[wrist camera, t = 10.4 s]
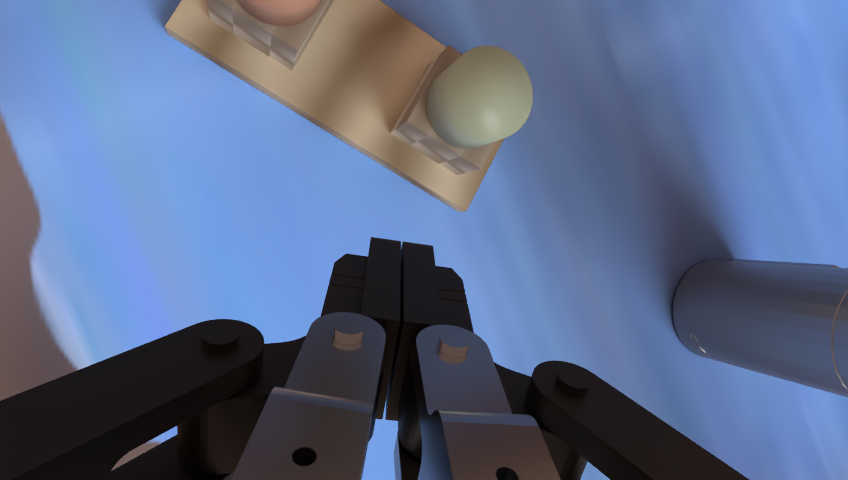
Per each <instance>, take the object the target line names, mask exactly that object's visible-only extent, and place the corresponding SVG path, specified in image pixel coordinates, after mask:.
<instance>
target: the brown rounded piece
mask: <svg viewBox="0 0 848 480" xmlns="http://www.w3.org/2000/svg"><path fill="white" fill-rule="evenodd" d="M321 1H322V0H237V2H238V3H239V4H240V5H241V7H242V8H243V9H244V10H245V11H246V12H247V13H249V14H250V15H251V16H253V17H254V18H256V19H258V20H259V21H262V22H264V23H267V24H270V25H275V26H291V25H296V24H299V23H301V22H303V21H305V20H307V19H308V18H309V17H311V16H312V15H313V14H314V13H315V12H316V10H317V9H318V7H319V5H320V3H321Z"/></svg>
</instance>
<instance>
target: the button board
mask: <svg viewBox="0 0 848 480" xmlns="http://www.w3.org/2000/svg"><path fill="white" fill-rule="evenodd" d="M165 28H166V30H167V33H168V35H170V36H171V37H173V38H175V39H176V40H178V41H180V42H181V43H183V44H185V45H186V46H188V47H189V48H191V49H193V50H194V51H196V52H198V53H199V54H201V55H203V56H204V57H206V58H207V59H209V60H211V61H212V62H214V63H216V64H217V65H219V66H221V67H222V68H224V69H225V70H227V71H229V72H230V73H232V74H234V75H235V76H237V77H239V78H240V79H242V80H244V81H245V82H247V83H248V84H250V85H252V86H253V87H255V88H257V89H258V90H260V91H262V92H263V93H265V94H266V95H268V96H270V97H271V98H273V99H275V100H276V101H278V102H280V103H281V104H283V105H285V106H286V107H288V108H289V109H291V110H293V111H294V112H296V113H298V114H299V115H301V116H303V117H304V118H306V119H307V120H309V121H311V122H312V123H314V124H316V125H317V126H319V127H321V128H322V129H324V130H325V131H327V132H329V133H330V134H332V135H334V136H335V137H337V138H339V139H340V140H342V141H344V142H345V143H347V144H348V145H350V146H352V147H353V148H355V149H357V150H358V151H360V152H362V153H363V154H365V155H366V156H368V157H370V158H371V159H373V160H375V161H376V162H378V163H380V164H381V165H383V166H385V167H386V168H388V169H389V170H391V171H393V172H394V173H396V174H398V175H399V176H401V177H403V178H404V179H406V180H407V181H409V182H411V183H412V184H414V185H416V186H417V187H419V188H421V189H422V190H424V191H425V192H427V193H429V194H430V195H432V196H434V197H435V198H437V199H439V200H440V201H442V202H444V203H445V204H447V205H448V206H450V207H452V208H453V209H455V210H457V211H458V212H464V211H467V209H468V207H469V205H470V203H471V201H472V199H473V197H474V195H475V193H476V192H477V190H478V188H479V186H480V184H481V182H482V180H483V178H484V176H485V174H486V172H487V170H488V168H489V167H490V165H491V163H492V161H493V159H494V157H495V155H496V153H497V151H498V149H499V147H500V145H501V143H502V142H503V140H504V138H503V139H500V140H498V141H495V142H492V143H489V144H487V145H484V146H481V147H478V148H474V149H461V148H457V147H454V146H452V145H450V144H448V143H447V142H445V141H444V140H443V139H442V138H441V137H439V136H438V134H437V133H436V132H435V130H434V129H433V127H432V125H431V123H430V121H429V118H428V113H427V95H428V92H429V89H430V86H431V84H432V83H433V81H434V80H435V78H436V77H437V76H438V75H439V74H440V73H441V72H443V71H444V70H445V69H446V68H447V67H449V66H450V65H451V64H452V63H453V62H455V61H456V60H457V59H458V58H459V57H461V56H462V54H461V53H459V52H458V51H456V50H455V49H454V48H452V47H451V46H448V47H447V48H446V47H445V46H444V45H442V44H441V43H439V42H438V41H437V40H435V39H434V38H432V37H431V36H430V35H428V34H427V33H425V32H424V31H423V30H421V29H420V28H418V27H417V26H415V25H414V24H413V23H411V22H410V21H408V20H407V19H406V18H404V17H403V16H401V15H400V14H399V13H397V12H396V11H394V10H393V9H391V8H390V7H389V6H387V5H386V4H384V3H383V2H382V1H380V0H322V1H321V3H320V5H319V7H318V9H317V10H316V12H315V13H314V14H313V15H312V16H311V17H309V18H308V19H307V20H305V21H303V22H301V23H299V24H296V25H291V26H275V25H270V24H267V23H264V22H262V21H259V20H258V19H256V18H254V17H253V16H251V15H250V14H249V13H247V12H246V11H245V10H244V9H243V8H242V7H241V5H240V4H239V3H238V2H237V0H181V2H180V4H179V5H178V7H177V8H176V10H175V11H174V13H173V14H172V16H171V18H170V19H169V21H168V22H167V24H166V25H165Z"/></svg>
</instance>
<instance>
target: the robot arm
mask: <svg viewBox="0 0 848 480" xmlns="http://www.w3.org/2000/svg"><path fill="white" fill-rule="evenodd" d="M673 321H674V325H675V329H676V332H677V334H678V336H679V338H680V340H681V341H682V343H683V344H684V345H685V347H686V348H688V349H689V350H690V351H691V352H693V353H695V354H697V355H699V356H702V357H706V358H709V359H713V360H716V361H720V362H724V363H727V364H731V365H734V366H737V367H741V368H744V369H748V370H752V371H755V372H759V373H762V374H766V375H770V376H773V377H777V378H780V379H784V380H788V381H791V382H795V383H798V384H802V385H806V386H809V387H813V388H816V389H820V390H823V391H827V392H831V393H834V394H838V395H841V396H845V397H848V268H839V267H837V266H835V265H826V264H809V263H792V262H775V261H758V260H741V259H735V260H733V261H726V260H707V261H704V262H701V263H699V264H697V265H695V266H693V267H692V268H691V269H690V270H689V271H688V272H687V273H686V274H685V276H684V277H683V278H682V280H681V281H680V284H679V286H678V288H677V290H676V294H675V297H674V302H673ZM386 396H387V397H386ZM385 401H386V420H394V421H398V433H397V438H396V443H395V448H394V465H395V478H396V480H580V479H581V476H582V474H583V471H584V469H585V466H586V464H587V461H588V462H590V463H591V464H592V465H593V466H594V467H596V468H597V469H598V470H599V471H601V472H602V473H603V474H604V475H606V476H607V477H608V478H609V479H610V480H749V479H748V478H746V477H745V476H743V475H742V474H740V473H739V472H737V471H736V470H734V469H733V468H731V467H730V466H728V465H727V464H725V463H724V462H723V461H721V460H720V459H718V458H717V457H715V456H714V455H712V454H711V453H709V452H708V451H706V450H705V449H703V448H702V447H701V446H699V445H698V444H696V443H695V442H693V441H692V440H690V439H689V438H687V437H686V436H684V435H683V434H681V433H680V432H678V431H677V430H676V429H674V428H673V427H671V426H670V425H668V424H667V423H665V422H664V421H662V420H661V419H659V418H658V417H656V416H655V415H653V414H652V413H651V412H649V411H648V410H646V409H645V408H643V407H642V406H640V405H639V404H637V403H636V402H634V401H633V400H631V399H630V398H628V397H627V396H626V395H624V394H623V393H621V392H620V391H618V390H617V389H615V388H614V387H612V386H611V385H609V384H608V383H606V382H605V381H603V380H602V379H601V378H599V377H598V376H596V375H595V374H593V373H592V372H590V371H588V370H587V369H584V368H582V367H580V366H578V365H575V364H572V363H568V362H563V361H547V362H543V363H541V364H539V365H537V366H536V367H535V369H534V371H533V374H532V377H530V376H527V375H524V374H521V373H518V372H515V371H512V370H509V369H507V368H504V367H502V366H500V365H498V364H496V363H495V362H494V361H493V359H492V356H491V353H490V350H489V348H488V346H487V344H486V343H485V342H484V341H483V340H482V339H481V338H480V337H479V336H477V335H476V334H474V332H473V327H472V323H471V318H470V313H469V309H468V304H467V299H466V295H465V290H464V285H463V281H462V279H461V278H460V277H459V276H458V275H457V273H456V272H455V271H454V270H453V269H452V268H446V267H439V266H435V259H434V251H433V246H430V245H423V244H416V243H409V242H403V243H402V247H401V241H395V240H388V239H381V238H374V237H371V241H370V247H369V254H368V257H366V256H359V255H352V254H345V255H344V256H342V257H341V258H340V259H339V260H337V261H336V262H335V263H334V267H333V271H332V275H331V278H330V282H329V286H328V290H327V294H326V298H325V302H324V306H323V309H322V313H321V317H319V318H318V319H316V320H315V321H314V322H313V323H312V325H311V326H310V328H309V331H308V333H307V335H306V336H304V337H302V338H300V339H297V340H293V341H289V342H282V343H270V344H264V338H263V336H262V334H261V333H260V331H259V330H258V329H256V328H255V327H254V326H252V325H250V324H248V323H245V322H242V321H238V320H231V319H216V320H209V321H204V322H200V323H197V324H195V325H192V326H190V327H187V328H184V329H182V330H179V331H177V332H174V333H172V334H169V335H167V336H164V337H162V338H159V339H156V340H154V341H151V342H149V343H146V344H144V345H141V346H139V347H136V348H134V349H131V350H128V351H126V352H123V353H121V354H118V355H116V356H113V357H111V358H108V359H106V360H103V361H101V362H98V363H95V364H93V365H90V366H88V367H85V368H83V369H80V370H78V371H75V372H73V373H70V374H68V375H65V376H62V377H60V378H57V379H55V380H52V381H50V382H47V383H45V384H42V385H40V386H37V387H35V388H32V389H29V390H27V391H24V392H22V393H19V394H17V395H14V396H12V397H9V398H7V399H4V400H1V401H0V480H361V479H362V474H363V468H364V463H365V457H366V451H367V446H368V442H369V440H370V439H371V437H372V435H373V431H374V425H375V419H382V418H383V412H384V407H385ZM175 426H177V431H178V434H177V435H176V436H174V437H172V438H170V439H168V440H167V441H165V442H163V443H161V444H159V445H158V446H156V447H154V448H152V449H150V450H149V451H147V452H145V453H143V454H142V455H139V456H138V457H136V458H134V459H133V460H130V461H129V462H127V463H125V464H123V465H121V466H120V467H118V468H116V469H114V470H112V468H113V467H114V465H115V464H116V463H117V462H118V460H120V459H121V458H122V457H123V456H124V455H125V454H127V453H128V452H129V451H131V450H132V449H135V448H136V447H138V446H140V445H142V444H144V443H146V442H147V441H149V440H151V439H153V438H155V437H157V436H159V435H160V434H162V433H164V432H166V431H168V430H170V429H172V428H173V427H175ZM111 470H112V471H111ZM110 471H111V472H110Z"/></svg>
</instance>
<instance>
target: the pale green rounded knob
mask: <svg viewBox="0 0 848 480" xmlns="http://www.w3.org/2000/svg"><path fill="white" fill-rule="evenodd" d="M532 102H533V90H532V84H531V81H530V78H529V75H528V73H527V71H526V69H525V68H524V66H523V65H522V63H521V62H520V61H519V60H518V59H517V58H516V57H515V56H514V55H512V54H511V53H509V52H508V51H506V50H504V49H502V48H499V47H495V46H479V47H476V48H473V49H471V50H469V51H467V52H466V53H464V54H463V55H462V56H461V57H459V58H458V59H457V60H456V61H455V62H453V63H452V64H451V65H450V66H449V67H447V68H446V69H445V70H444V71H443V72H441V73H440V74H439V75H438V76H437V77H436V78H435V80H434V81H433V83H432V84H431V86H430V89H429V92H428V95H427V113H428V118H429V121H430V123H431V125H432V127H433V129H434V130H435V132H436V133H437V134H438V136H439V137H441V138H442V139H443V140H444V141H445V142H447V143H448V144H450V145H452V146H454V147H457V148H461V149H474V148H478V147H481V146H484V145H487V144H489V143H492V142H495V141H498V140H500V139H503V138H506V137H508V136H510V135H512V134H514V133H515V132H517V131H518V130H519V129H520V128H521V127H522V126H523V125H524V123H525V122H526V120H527V118H528V116H529V114H530V111H531V108H532Z"/></svg>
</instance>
